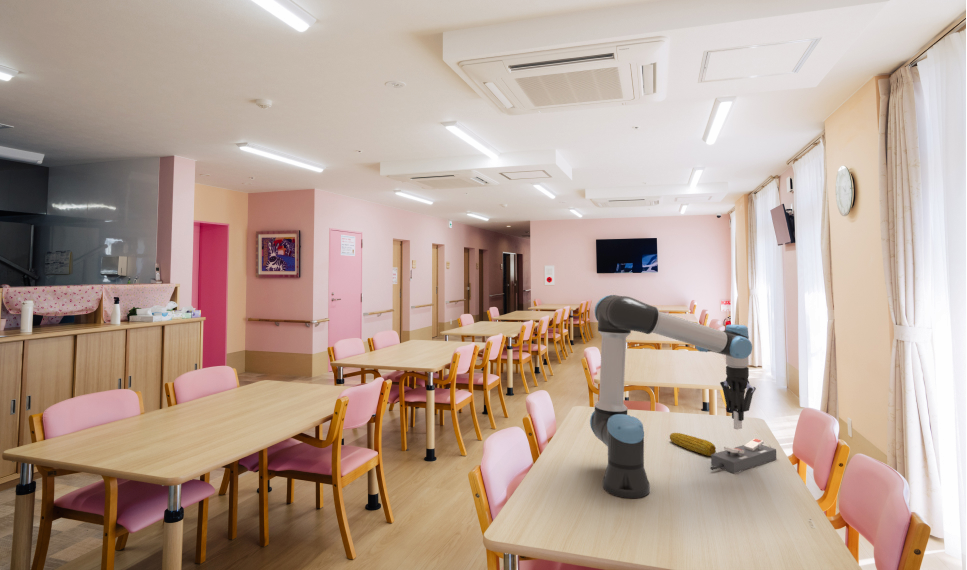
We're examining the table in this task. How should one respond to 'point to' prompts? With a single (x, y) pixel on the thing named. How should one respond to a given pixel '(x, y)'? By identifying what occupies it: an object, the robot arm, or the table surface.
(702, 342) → the robot arm
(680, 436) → the food
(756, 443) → the far rocker
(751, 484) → the table surface
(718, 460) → the power strip
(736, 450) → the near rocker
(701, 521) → the table surface
